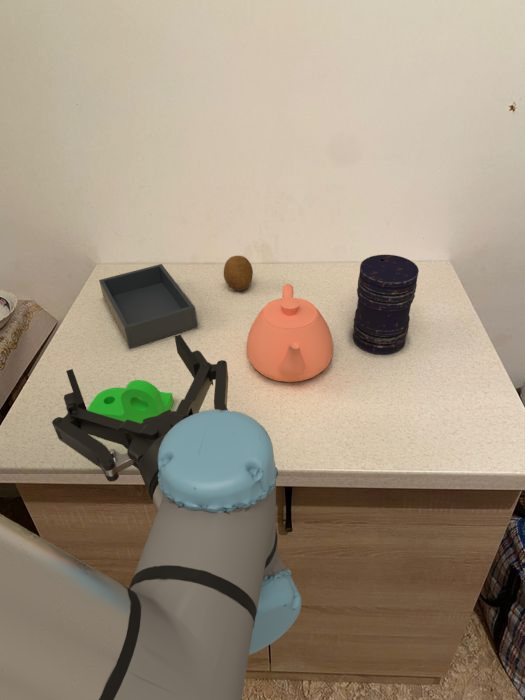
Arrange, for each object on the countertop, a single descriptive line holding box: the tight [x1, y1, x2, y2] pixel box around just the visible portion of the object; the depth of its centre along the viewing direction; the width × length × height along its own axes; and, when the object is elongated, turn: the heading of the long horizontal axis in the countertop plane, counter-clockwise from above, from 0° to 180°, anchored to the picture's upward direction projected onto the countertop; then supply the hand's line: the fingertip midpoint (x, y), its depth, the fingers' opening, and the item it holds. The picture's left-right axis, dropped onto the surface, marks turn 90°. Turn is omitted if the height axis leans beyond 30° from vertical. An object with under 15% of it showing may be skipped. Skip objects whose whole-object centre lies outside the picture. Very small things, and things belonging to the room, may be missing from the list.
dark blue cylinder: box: [352, 254, 420, 356], centre depth 89 cm, size 10×10×15 cm
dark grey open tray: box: [98, 263, 198, 350], centre depth 101 cm, size 14×20×5 cm
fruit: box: [223, 255, 254, 291], centre depth 106 cm, size 6×6×8 cm
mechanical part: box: [86, 379, 174, 423], centre depth 78 cm, size 12×6×8 cm, turn 80°
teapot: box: [246, 283, 334, 383], centre depth 85 cm, size 22×15×12 cm
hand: (127, 360), depth 63 cm, fingers open, 13 cm apart
